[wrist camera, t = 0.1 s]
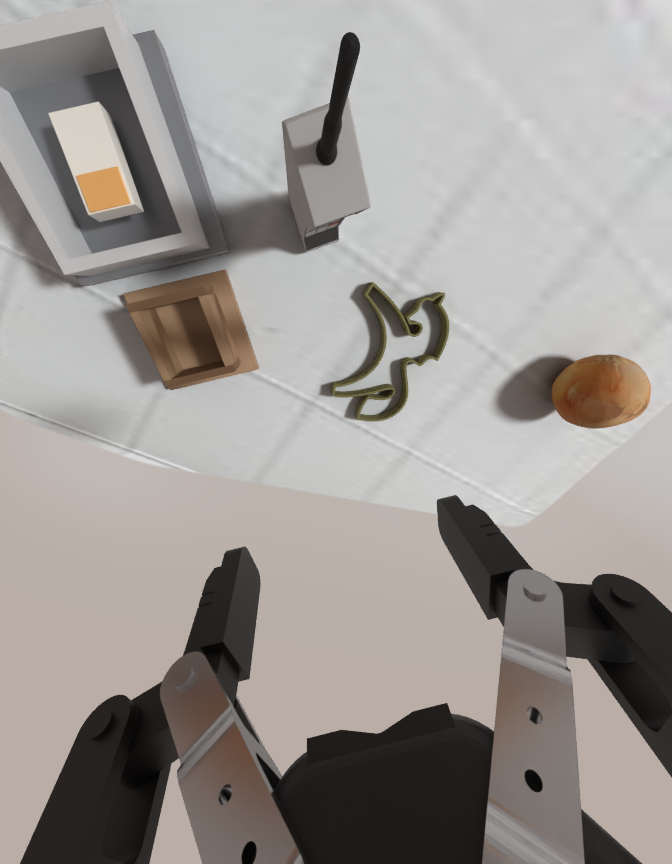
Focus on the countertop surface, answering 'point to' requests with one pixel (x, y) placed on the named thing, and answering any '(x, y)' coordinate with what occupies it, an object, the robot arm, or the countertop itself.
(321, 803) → the robot arm
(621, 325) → the countertop surface
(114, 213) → the plate
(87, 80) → the box
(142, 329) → the stand
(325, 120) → the vintage mobile phone
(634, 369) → the onion
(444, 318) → the cookie cutter
